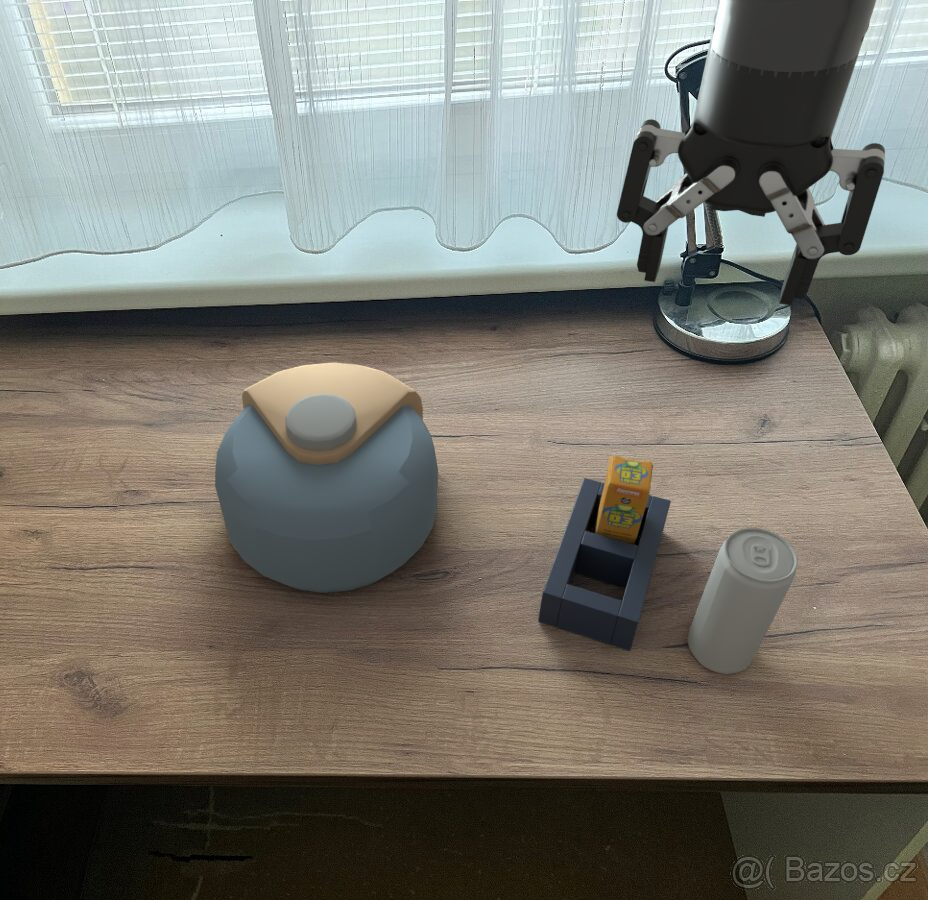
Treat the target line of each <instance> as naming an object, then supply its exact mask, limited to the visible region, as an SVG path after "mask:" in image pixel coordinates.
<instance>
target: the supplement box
mask: <svg viewBox="0 0 928 900" xmlns="http://www.w3.org/2000/svg"><path fill="white" fill-rule="evenodd" d="M653 469H654V464H653V461H649V460H643V461H642V460H636V459H632V458H625V457H622V456H619V455H610V456H609V460H608V466H607V471H606V475H605V480H604V483H605V484H604V488H603V492H602V497H601V501H600V505H599V510H598V514H597V519H596V523H595V525H594V527H593V531H592V533H595V534H599V535H602V536H606V537H609V538H613V539H616V540H620V541H623V542H627V543H630V544H634V545H636V541H637V538H638V537H637V535H638V531H639V528H640V524H641V521H642V517H643V514H644V511H645V507H646V504H647V501H648V497H649V495H650V493H651V485H652V479H653V471H654V470H653Z"/></svg>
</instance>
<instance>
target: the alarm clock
mask: <svg viewBox="0 0 928 900" xmlns="http://www.w3.org/2000/svg"><path fill="white" fill-rule="evenodd" d="M241 398H242V408H243V409H242V410H241V412H240V413H238V415H237V416H236V417H235V419H234V420H233V422H232V423H231V424H230V425H229V427H228V428H227V429H226V431H225V433H224V435H223V437H222V440H221V442H220V445H219V447H218V449H217V451H216V459H215V471H214V487H215V491H216V494H217V499H218V504H219V507H220V510H221V514H222V518H223V522H224V526H225V529H226V532H227V536H228V539H229V543H230V544H231V545H232V547H233V548H234V549H235V551H236V552H237V554H238V555H239V556H240V558H241V559H242V561H243V562H245V564H247V565H249V566H250V567H251V568H253V569H254V570H255V571H257V572H258V573H259V574H260V575H262V576H263V577H266V578H268V579H271V580H273V581H275V582H278V583H279V584H282V585H285V586H288V587H290V588H293V589H296V590H300V591H308V592H315V593H321V594H323V593H324V594H325V593H336V592H337V593H338V592H348V591H352V590H355V589H358V588H362V587H366V586H369V585H372V584H374V583H377V582H378V581H379V580H382V579H383V578H385V577H387V576H388V575H390V574H392V573H394V572H395V571H396V570H397V569H399V568H400V567H402V566H404V565H405V564H406V563H407V562H408V561H409V560H410V559H411V558H412V557H413V556H414V555H415V554H416V553H417V552H418V551H419V550H420V549H421V548H422V547H423V545H424V543H425V541H426V540H427V539H428V537H429V534H430V533H431V531H432V529H433V528H434V524H435V519H436V515H437V508H438V497H439V496H438V493H439V491H438V489H439V488H438V487H439V486H438V484H439V482H438V479H439V478H438V477H439V468H438V461H437V455H436V447H435V445H434V441H433V436H432V434H431V432H430V430H429V428H428V427H427V425H426V423H425V422H424V407H423V401H422V396H420V394H419V393H418V392H417V391H416V390H415V389H414V388H412V387H411V386H409V385H407V384H405V383H404V382H402V381H401V380H399V379H397V378H395V377H394V376H393V375H391V374H389V373H387V372H385V371H383V370H380V369H376V368H372V367H368V366H365V365H361V364H353V363H342V362H323V363H312V364H303V365H299V366H295V367H290V368H287V369H283V370H279V371H277V372H275V373H273V374H271V375H269V376H268V377H265V378H264V379H261V380H260V381H258V382H255V383H254V384H252V385H250V386H248V387H245V388H244V389H243V391H242V395H241Z"/></svg>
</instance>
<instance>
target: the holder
mask: <svg viewBox="0 0 928 900" xmlns="http://www.w3.org/2000/svg"><path fill="white" fill-rule="evenodd" d="M604 484H605V482H601V481H597V480H595V479H591V478H586V477H584V478H583V479H582V482H581V484H580V487H579V491H578V493H577V496H576V499H575V501H574V505H573V507H572V511H571V513H570V516H569V518H568V521H567V524H566V526H565V529H564V532H563V535H562V537H561V541H560V543H559V546H558V548H557V552H556V555H555V557H554V560H553V563H552V565H551V568H550V571H549V574H548V577H547V578H546V582H545V584H544V588H543V590H542V595H541V600H540V607H539V613H538V622H539V623H542V624H545V625H548V626H552V627H555V628H558V629H560V630H564V631H566V632H570V633H573V634H576V635H579V636H582V637H585V638H587V639H591V640H593V641H597V642H601V643H603V644H607V645H610V646H612V647H616V648H618V649H622V650H625V651H628V652H630V651H631V648H632V645H633V642H634V639H635V636H636V632H637V629H638V625H639V623H640V619H641V616H642V612H643V608H644V603H645V600H646V596H647V593H648V588H649V585H650V581H651V578H652V573H653V571H654V567H655V563H656V559H657V555H658V551H659V548H660V543H661V539H662V537H663V532H664V529H665V525H666V521H667V517H668V514H669V510H670V507H671V503H672V500H670V499H667V498H663V497H659V496H655V495H651V494H649V497H648V501H647V504H646V507H645V511H644V514H643V517H642V521H641V524H640V528H639V531H638V535H637V538H639V541H638V545H637V544H635V545H634V544H630V543H627V542H623V541H620V540H616V539H613V538H609V537H606V536H602V535H599V534H595V533H593V532H591V531H590V529H591V527H592V526H595V523H596V519H597V514H598V510H599V505H600V501H601V497H602V492H603V488H604ZM576 574H577V575H580V576H582V577H586V578H589V579H592V580H596V581H599V582H602V583H605V584H608V585H611V586H615V587H618V588H622V589H625V590H624V593H623V597H622V600H621V599H618V598H614V597H611V596H608V595H606V594H605V595H604V594H602V593H598V592H595V591H593V590H592V591H591V590H589V589H585V588H582V587H579V586H576V585H572V583H573V580H574V577H575V575H576Z"/></svg>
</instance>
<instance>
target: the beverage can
mask: <svg viewBox="0 0 928 900" xmlns="http://www.w3.org/2000/svg"><path fill="white" fill-rule="evenodd" d="M798 562H799V559H798V556H797V551H796V550H795V549H794V547H793V546H792V544H790V542H789V541H787V539H786V538H785V537H782V536H781V535H780V534H778V533H776V532H774V531H771V530H769V529H765V528H762V527H743V528H739V529H736V530H735V531H733V532H732V533H730V534H729V535H728V536H727V538H726V539H725V540H724V541H723V543H722V544H721V547H719V551H718V553H717V556H716V559H715V561H714V564H713V567H712V569H711V572H710V574H709V577H708V580H707V582H706V585H705V587H704V591H703V593H702V596H701V598H700V600H699V604H698V606H697V609H696V610H695V614H694V616H693V619H692V621H691V624H690V627H689V630H688V632H687V638H686V640H687V645H688V648H689V651H690V652H691V655H693V657H694V658H695V659H696V661H697V662H698V663H699V664H700V665H702V666H703V668H705V669H708V670H710V671H711V672H715V673H718V674H723V675H724V674H725V675H731V674H737V673H739V672H742V671H744V670H746V669H747V668H748V667H749V666H750V665H751V663H752V661H753V660H754V658H755V656H756V654H757V652H758V650H759V648H760V646H761V644H762V642H763V640H764V638H765V636H766V634H767V633H768V631H769V629H770V627H771V625H772V623H773V621H774V619H775V617H776V615H777V613H778V611H779V609H780V607H781V605H782V603H783V602H784V599H785V598H786V595H787V594H788V592H789V589H790V587H791V585H792V583H793V581H794V579H795V577H796V575H797V568H798V564H799V563H798Z"/></svg>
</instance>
